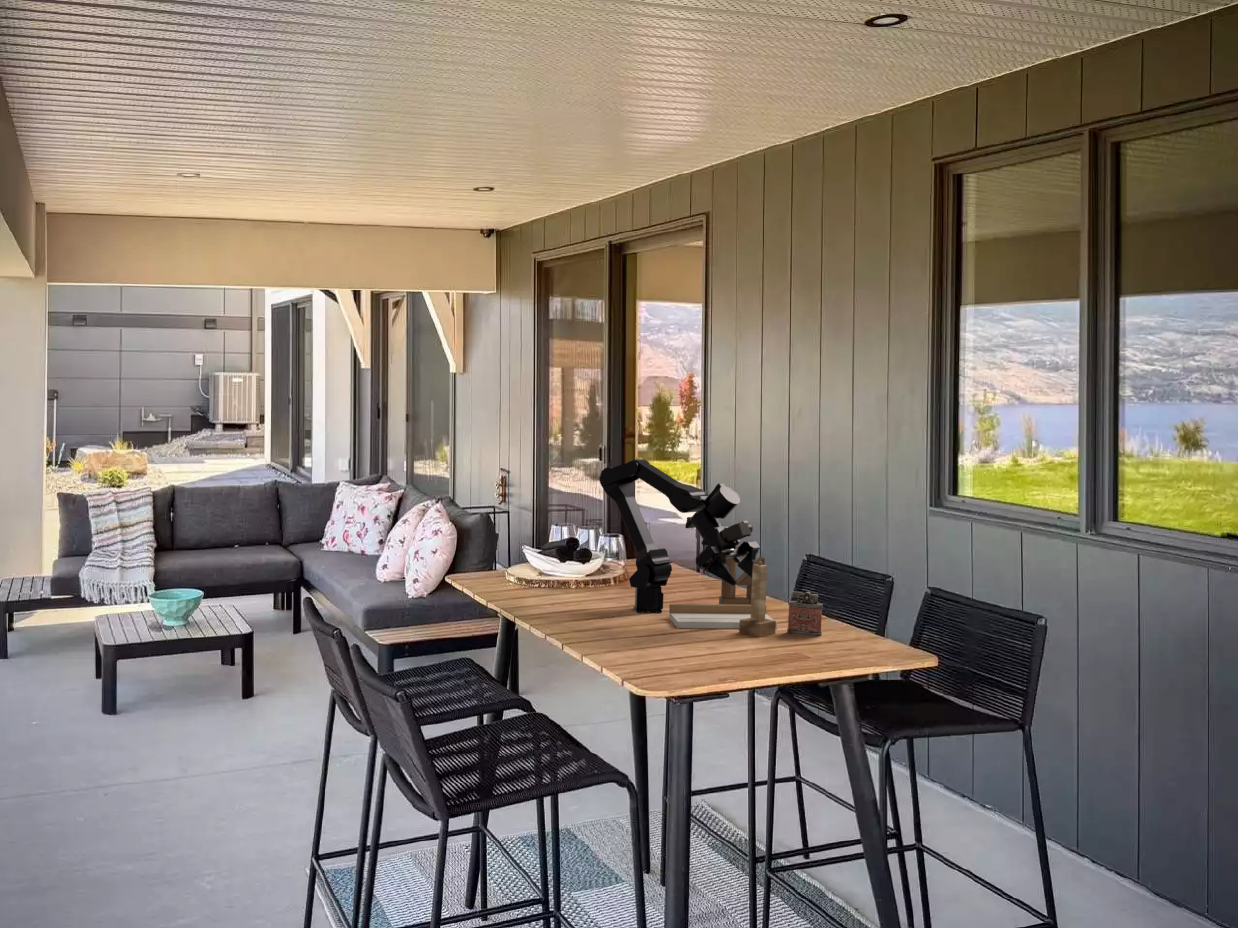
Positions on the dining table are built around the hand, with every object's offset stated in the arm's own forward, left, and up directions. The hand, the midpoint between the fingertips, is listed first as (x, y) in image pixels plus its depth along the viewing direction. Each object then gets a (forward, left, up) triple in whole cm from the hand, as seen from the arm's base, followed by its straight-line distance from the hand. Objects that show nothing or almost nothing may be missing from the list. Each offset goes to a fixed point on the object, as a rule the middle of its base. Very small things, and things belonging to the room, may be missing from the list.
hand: (747, 582), depth 276 cm
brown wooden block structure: (+4, +23, -12) cm, 26 cm away
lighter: (+13, -4, -12) cm, 18 cm away
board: (-4, +8, -11) cm, 15 cm away
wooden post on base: (+2, -3, -11) cm, 12 cm away
